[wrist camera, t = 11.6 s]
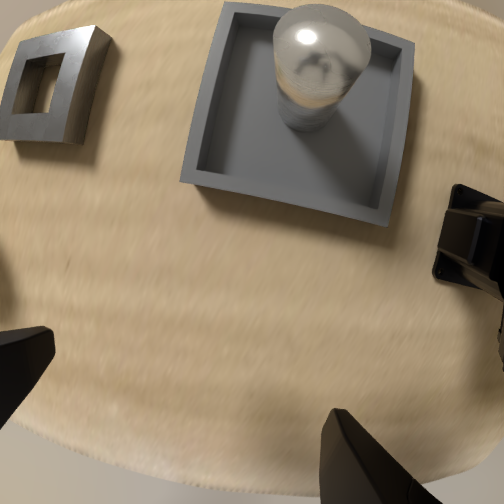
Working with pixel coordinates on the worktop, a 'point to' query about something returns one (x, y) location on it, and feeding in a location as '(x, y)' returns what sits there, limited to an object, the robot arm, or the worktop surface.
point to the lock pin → (316, 63)
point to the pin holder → (66, 89)
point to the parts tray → (289, 140)
